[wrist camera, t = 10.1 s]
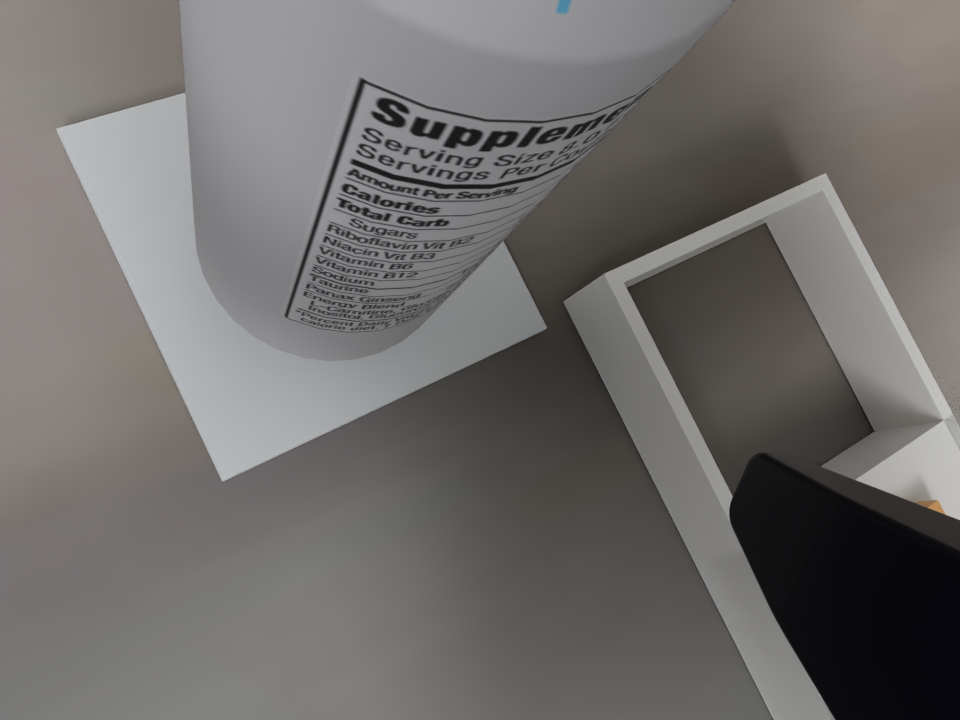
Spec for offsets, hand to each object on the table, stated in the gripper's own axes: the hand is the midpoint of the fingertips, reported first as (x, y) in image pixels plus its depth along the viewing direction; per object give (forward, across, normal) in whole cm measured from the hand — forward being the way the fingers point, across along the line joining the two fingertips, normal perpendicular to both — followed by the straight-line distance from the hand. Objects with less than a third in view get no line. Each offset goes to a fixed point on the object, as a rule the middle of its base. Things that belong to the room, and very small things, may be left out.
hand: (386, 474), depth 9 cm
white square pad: (+12, 0, -3) cm, 13 cm away
